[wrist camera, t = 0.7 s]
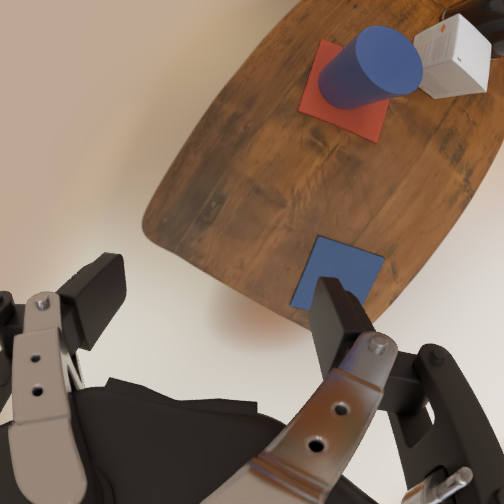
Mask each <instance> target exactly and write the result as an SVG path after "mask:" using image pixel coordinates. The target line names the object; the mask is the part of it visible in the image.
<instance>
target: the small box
mask: <svg viewBox="0 0 504 504" xmlns="http://www.w3.org/2000/svg"><path fill="white" fill-rule="evenodd" d="M413 46H414V47H415V48H416V50H417V52H418V54H419V56H420V58H421V61H422V65H423V78H422V81H421V83H420V85H419V88H420V89H422V90H423V91H425V92H426V93H427V94H428V95H430V96H431V97H432V98H434V99H439V98H446V97H452V96H459V95H466V94H475V93H483V92H487V85H488V77H489V69H490V59H491V46H492V45H491V44H490V42H489V41H488V40H487V39H486V38H485V37H484V36H483V35H482V34H481V33H480V32H479V31H478V30H477V29H476V28H475V27H474V26H473V25H472V24H471V23H469V22H468V21H467V20H466V19H465V18H464V17H463V16H462V15H460V14H456V15H454V16H452V17H450V18H448V19H446V20H444V21H442V22H440V23H438V24H436V25H434V26H432V27H430V28H428V29H426V30H425V31H423V32H421V33H419V34H417V35H415V38H414V42H413Z"/></svg>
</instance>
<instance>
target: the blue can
mask: <svg viewBox="0 0 504 504" xmlns="http://www.w3.org/2000/svg"><path fill="white" fill-rule="evenodd" d="M422 78H423V65H422V61H421V58H420V56H419V54H418V52H417V50H416V48H415V47H414V46H413V44H412V43H411V42H410V41H409V40H408V39H407V38H406V37H405V36H403V35H402V34H401V33H399V32H398V31H396V30H394V29H391V28H388V27H384V26H372V27H368V28H366V29H364V30H363V31H362V32H361V33H360V34H358V35H357V36H356V37H355V38H354V39H353V40H352V41H351V42H350V43H349V44H348V45H347V46H346V47H345V48H344V49H342V50H341V51H340V52H339V53H338V54H337V55H336V56H335V57H334V58H333V59H332V60H331V61H330V62H329V63H328V64H327V65H326V66H325V67H324V68H323V69H322V71H321V72H320V75H319V79H318V85H319V89H320V92H321V94H322V95H323V97H324V98H325V99H326V101H327V102H329V103H330V104H331V105H333V106H334V107H337V108H339V109H343V110H352V109H355V108H359V107H362V106H365V105H369V104H372V103H376V102H379V101H383V100H386V99H390V98H394V97H398V96H402V95H406V94H409V93H412V92H413V91H415V90H416V89H417V88H418V87H419V85H420V83H421V81H422Z"/></svg>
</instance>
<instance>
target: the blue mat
mask: <svg viewBox="0 0 504 504" xmlns="http://www.w3.org/2000/svg"><path fill="white" fill-rule="evenodd" d="M384 260H385V258H384V257H381V256H379V255H376V254H373V253H370V252H367V251H364V250H361V249H358V248H355V247H352V246H349V245H346V244H343V243H340V242H337V241H334V240H331V239H328V238H325V237H321V236H318V237H317V240H316V242H315V245H314V247H313V250H312V252H311V255H310V257H309V260H308V262H307V265H306V267H305V269H304V272H303V274H302V277H301V279H300V282H299V284H298V286H297V289H296V291H295V293H294V296H293V298H292V300H291V303H290V306H293V307H297V308H302V309H306V310H310V308H311V304H312V300H313V296H314V292H315V288H316V283H317V280H318V278H319V277H320V276H323V277H334V278H338V279H339V281H340V282H341V284H342V286H343V288H344V290H347V291H350V292H351V293H352V294H354V295H355V296H356V297H357V298H358V300H359V301H360V303H361V305H362V304H363V303H364V301H365V299H366V297H367V295H368V293H369V291H370V289H371V287H372V285H373V283H374V281H375V279H376V277H377V275H378V273H379V271H380V268H381V266H382V264H383V262H384Z"/></svg>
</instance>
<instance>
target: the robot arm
mask: <svg viewBox="0 0 504 504" xmlns="http://www.w3.org/2000/svg"><path fill="white" fill-rule="evenodd" d="M456 14H460V15H462V16H463V17H464V18H465V19H466V20H467V21H468V22H469V23H471V24H472V25H473V26H474V27H475V28H476V29H477V30H478V31H479V32H480V33H481V34H482V35H483V36H484V37H485V38H486V39H487V40H488V41H489V42H490V44H491V45H492V46H491V59H490V60H499V59H496V58H501V57H504V0H462V1H460V2H458V3H456V4H454V5H452V6H450V7H449V9H447V10H445V11H443V12H442V14H441V16H440V22H442V21H444V20H446V19H448V18H450V17H452V16H454V15H456ZM126 290H127V289H126V280H125V270H124V260H123V257H122V255H121V254H114V253H106V252H105V253H103V254H102V255H101V256H100V257H98V258H97V259H96V260H95V261H94V262H93V263H91V264H88V265H86V266H84V267H83V268H81V269H80V270H79V271H78V272H77V274H75V275H74V276H72V278H71V279H69V280H68V281H67V282H66V283H65V284H64V285H63V286H61V287H60V288H59V290H57V291H56V292H55V293H54V292H41V293H38V294H36V295H34V296H32V297H31V298H30V299H29V300H28V301H27V303H26V304H14V301H13V297H12V294H11V293H10V292H7V291H0V345H1V348H2V350H1V351H0V412H1V411H2V409H3V407H4V405H5V404H6V402H7V400H8V398H9V397H10V395H11V394H12V407H13V420H12V421H9V422H7V423H5V424H3V425H0V504H378V503H377V502H376V501H375V500H373V499H372V498H371V497H369V496H368V495H367V494H366V493H364V492H363V491H362V490H361V489H359V488H358V487H357V486H356V485H354V484H353V483H352V482H351V481H350V480H348V479H347V478H346V477H345V476H344V475H342V473H343V471H344V470H345V468H346V467H347V465H348V463H349V461H350V460H351V458H352V456H353V454H354V453H355V451H356V449H357V448H358V446H359V444H360V442H361V440H362V439H363V437H364V434H365V433H366V430H367V429H368V427H369V425H370V423H371V421H372V419H373V417H374V415H375V413H376V410H383V411H387V413H388V416H389V420H390V423H391V427H392V430H393V433H394V437H395V440H396V445H397V448H398V452H399V456H400V460H401V464H402V468H403V472H404V476H405V480H406V485H407V490H408V492H407V493H406V494H405V495H404V497H403V499H402V502H401V504H504V454H503V451H502V449H501V447H500V444H499V442H498V440H497V438H496V436H495V433H494V431H493V429H492V427H491V425H490V423H489V421H488V419H487V417H486V415H485V413H484V411H483V409H482V407H481V405H480V403H479V402H478V399H477V398H476V396H475V394H474V392H473V390H472V389H471V387H470V385H469V383H468V382H467V380H466V378H465V377H464V375H463V373H462V371H461V370H460V368H459V367H458V365H457V363H456V362H455V360H454V358H453V357H452V355H451V354H450V353H449V352H448V351H447V350H446V349H445V348H443V347H441V346H439V345H436V344H425V345H423V346H422V347H421V348H420V350H419V352H418V354H417V355H416V354H411V353H406V352H401V351H398V347H397V344H396V343H395V342H394V340H393V339H391V338H390V337H389V336H387V335H385V334H382V333H380V332H376V330H375V329H374V327H373V325H372V323H371V321H370V319H369V318H368V316H367V314H366V313H365V310H364V309H363V307H362V305H361V303H360V301H359V300H358V298H357V297H356V296H355V295H354V294H352V293H351V292H350V291H347V290H344V288H343V286H342V284H341V282H340V281H339V279H338V278H334V277H323V276H320V277H319V278H318V280H317V283H316V288H315V292H314V296H313V300H312V304H311V308H310V313H309V324H310V328H311V332H312V336H313V339H314V344H315V348H316V352H317V356H318V359H319V364H320V368H321V372H322V377H323V382H322V383H321V385H320V386H319V387H318V389H317V390H316V391H315V393H314V394H313V395H312V396H311V398H310V399H309V400H308V401H307V402H306V404H305V405H304V406H303V407H302V408H301V410H300V411H299V412H298V413H297V414H296V415H295V417H294V418H293V419H292V420H291V421H290V422H289V424H288V425H285V424H284V423H282V422H281V421H278V420H276V419H274V418H272V417H269V416H267V415H264V414H260V413H257V402H252V401H239V400H228V399H204V400H183V401H181V400H174V399H172V398H169V397H167V396H165V395H162V394H160V393H158V392H155V391H153V390H151V389H148V388H147V387H145V386H142V385H138V384H134V383H130V382H126V381H122V380H118V379H115V378H111V377H110V378H109V379H108V381H107V383H106V385H105V387H90V388H85V385H84V381H83V377H82V373H81V368H80V364H79V359H78V355H77V353H76V351H77V349H78V348H81V349H84V350H88V351H91V349H92V347H93V346H94V344H95V343H96V341H97V340H98V338H99V337H100V335H101V334H102V332H103V331H104V329H105V328H106V327H107V325H108V324H109V322H110V321H111V319H112V317H113V316H114V315H115V314H116V312H117V311H118V309H119V308H120V306H121V305H122V304H123V302H124V300H125V297H126ZM428 402H430V404H431V407H432V409H433V411H434V415H435V420H434V424H432V422H431V419H430V417H429V414H428V412H427V409H426V407H425V406H426V404H427V403H428Z"/></svg>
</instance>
